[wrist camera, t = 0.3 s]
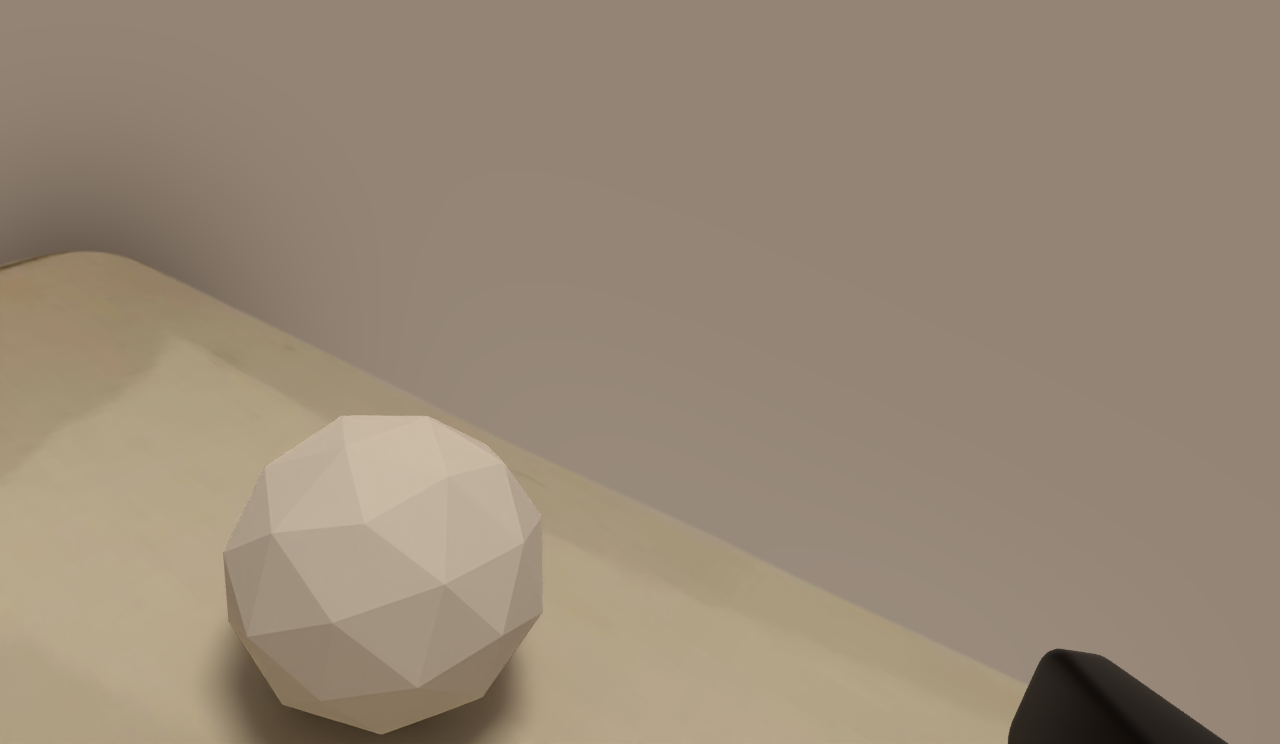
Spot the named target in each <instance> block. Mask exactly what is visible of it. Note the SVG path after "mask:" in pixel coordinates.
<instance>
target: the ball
mask: <svg viewBox="0 0 1280 744" xmlns="http://www.w3.org/2000/svg"><path fill="white" fill-rule="evenodd" d="M223 556H224V569H225V582H226V595H227V607H228V620H229V623H230V624H231V626H232V627H233V629H234V631H235V632H236V634H237V635H238V637H239V638H240V640H241V641H242V643H243V645H244V646H245V648H246V649H247V651H248V652H249V654H250V655H251V657H252V658H253V660H254V662H255V663H256V665H257V666H258V668H259V669H260V671H261V672H262V674H263V676H264V677H265V679H266V680H267V682H268V683H269V685H270V686H271V688H272V690H273V691H274V693H275V694H276V696H277V697H278V699H279V700H280V702H281V703H282V705H285V706H288V707H291V708H295V709H298V710H301V711H305V712H308V713H311V714H315V715H318V716H321V717H325V718H328V719H331V720H334V721H338V722H341V723H344V724H348V725H351V726H354V727H358V728H361V729H364V730H368V731H371V732H374V733H377V734H381V735H382V734H385V733H388V732H390V731H393V730H396V729H399V728H402V727H404V726H407V725H410V724H413V723H416V722H418V721H421V720H424V719H427V718H430V717H432V716H435V715H438V714H440V713H443V712H446V711H448V710H451V709H454V708H456V707H459V706H461V705H464V704H467V703H469V702H472V701H475V700H477V699H480V698H482V697H483V696H484V695H485V693H486V692H487V690H488V689H489V688H490V686H491V685H492V683H493V682H494V680H495V679H496V678H497V676H498V675H499V673H500V672H501V670H502V669H503V668H504V666H505V665H506V663H507V662H508V661H509V659H510V658H511V656H512V655H513V653H514V652H515V651H516V649H517V648H518V646H519V645H520V643H521V642H522V641H523V639H524V638H525V636H526V635H527V634H528V632H529V631H530V629H531V628H532V626H533V625H534V624H535V622H536V621H537V619H538V618H539V616H540V615H541V614H542V516H541V514H540V513H539V512H538V510H537V509H536V507H535V506H534V505H533V503H532V502H531V500H530V499H529V497H528V496H527V495H526V493H525V492H524V490H523V489H522V488H521V486H520V485H519V483H518V482H517V480H516V479H515V478H514V476H513V475H512V473H511V472H510V471H509V469H508V468H507V466H506V465H505V463H504V462H503V461H502V460H501V459H500V458H499V457H498V456H497V455H496V454H495V453H494V452H493V451H492V450H491V449H490V448H489V447H488V446H487V445H486V444H484V443H482V442H480V441H478V440H476V439H474V438H472V437H470V436H468V435H466V434H464V433H462V432H460V431H458V430H456V429H454V428H452V427H450V426H448V425H446V424H444V423H442V422H439V421H437V420H435V419H433V418H431V417H429V416H340V417H339V418H337V419H336V420H334V421H333V422H331V423H330V424H328V425H327V426H325V427H324V428H322V429H321V430H319V431H318V432H316V433H315V434H313V435H312V436H310V437H309V438H307V439H305V440H304V441H302V442H301V443H299V444H298V445H296V446H295V447H293V448H292V449H290V450H289V451H287V452H286V453H284V454H283V455H281V456H280V457H278V458H277V459H275V460H274V461H272V462H271V463H269V464H268V465H266V466H265V467H264V469H263V471H262V473H261V475H260V477H259V479H258V482H257V484H256V486H255V488H254V490H253V492H252V494H251V496H250V498H249V500H248V502H247V504H246V507H245V509H244V511H243V513H242V515H241V517H240V519H239V521H238V523H237V525H236V527H235V530H234V532H233V534H232V536H231V538H230V540H229V542H228V544H227V546H226V548H225V550H224V552H223Z"/></svg>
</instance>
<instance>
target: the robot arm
mask: <svg viewBox="0 0 1280 744" xmlns="http://www.w3.org/2000/svg"><path fill="white" fill-rule="evenodd" d="M1008 744H1228V743H1226V742H1225V741H1224V740H1222V739H1221V738H1220V737H1218V736H1217V735H1215V734H1214V733H1212V732H1211V731H1209V730H1208V729H1207V728H1205V727H1204V726H1202V725H1201V724H1200V723H1198V722H1197V721H1195V720H1194V719H1192V718H1191V717H1190V716H1188V715H1187V714H1185V713H1184V712H1182V711H1181V710H1180V709H1178V708H1177V707H1175V706H1174V705H1172V704H1171V703H1170V702H1168V701H1167V700H1165V699H1164V698H1163V697H1161V696H1160V695H1158V694H1157V693H1155V692H1154V691H1152V690H1151V689H1150V688H1148V687H1147V686H1145V685H1144V684H1142V683H1141V682H1140V681H1138V680H1137V679H1135V678H1134V677H1133V676H1131V675H1130V674H1128V673H1127V672H1125V671H1124V670H1122V669H1121V668H1120V667H1118V666H1117V665H1115V664H1114V663H1112V662H1111V661H1110V660H1108V659H1106V658H1105V657H1103V656H1100V655H1097V654H1092V653H1085V652H1078V651H1072V650H1064V649H1055V650H1052V651H1049V652H1048V653H1046V654H1045V655H1044V656H1043V657H1042V659H1041V661H1040V662H1039V664H1038V666H1037V668H1036V671H1035V673H1034V675H1033V677H1032V679H1031V681H1030V684H1029V686H1028V688H1027V690H1026V692H1025V695H1024V697H1023V699H1022V701H1021V703H1020V706H1019V708H1018V710H1017V712H1016V714H1015V717H1014V719H1013V721H1012V724H1011V727H1010V731H1009V736H1008Z"/></svg>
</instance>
